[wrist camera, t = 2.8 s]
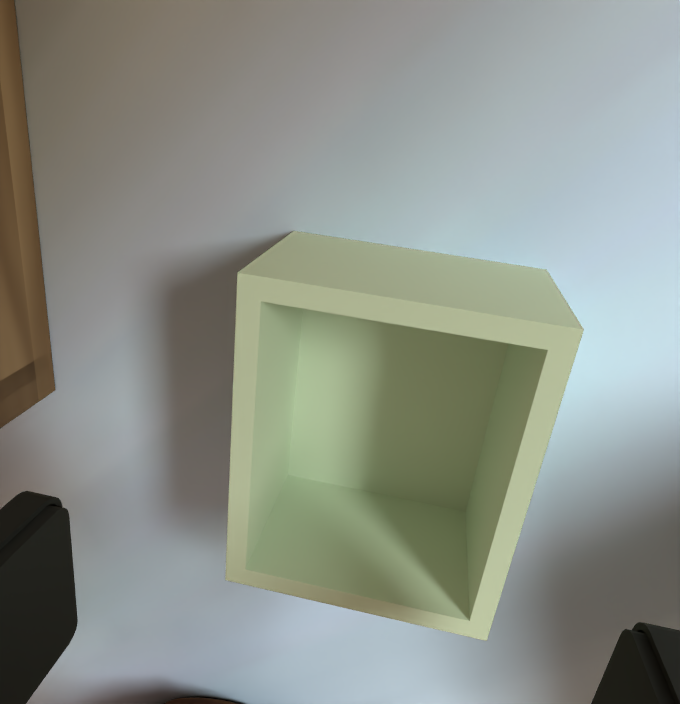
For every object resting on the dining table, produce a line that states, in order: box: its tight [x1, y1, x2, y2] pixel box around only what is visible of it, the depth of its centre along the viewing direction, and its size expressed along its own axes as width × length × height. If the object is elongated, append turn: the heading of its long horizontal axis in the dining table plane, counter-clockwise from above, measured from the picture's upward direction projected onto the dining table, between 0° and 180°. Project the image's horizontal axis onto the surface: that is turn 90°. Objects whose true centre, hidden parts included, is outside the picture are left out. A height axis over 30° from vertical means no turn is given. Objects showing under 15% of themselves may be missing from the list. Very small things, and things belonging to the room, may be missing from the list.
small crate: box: [225, 231, 584, 641], centre depth 14 cm, size 6×8×4 cm
